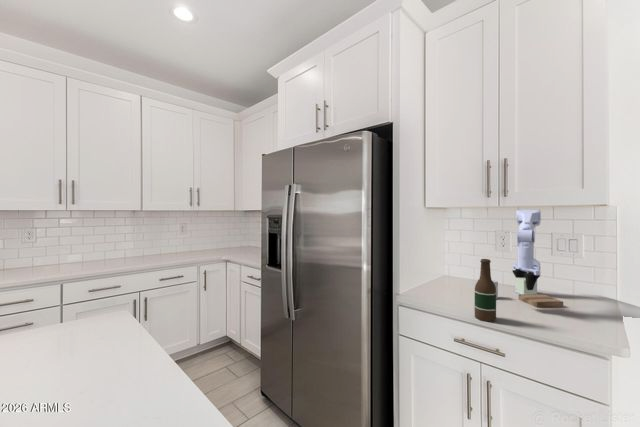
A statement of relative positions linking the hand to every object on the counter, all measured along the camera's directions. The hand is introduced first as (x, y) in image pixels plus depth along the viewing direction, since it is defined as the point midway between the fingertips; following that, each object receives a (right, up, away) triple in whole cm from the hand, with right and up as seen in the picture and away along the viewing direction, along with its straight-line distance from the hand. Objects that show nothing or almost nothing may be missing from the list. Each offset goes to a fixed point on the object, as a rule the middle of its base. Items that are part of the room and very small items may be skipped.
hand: (525, 288), depth 132 cm
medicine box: (-7, -9, +18) cm, 21 cm away
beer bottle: (-24, -10, -11) cm, 28 cm away
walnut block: (+13, -10, +9) cm, 18 cm away
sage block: (0, -2, 0) cm, 2 cm away
